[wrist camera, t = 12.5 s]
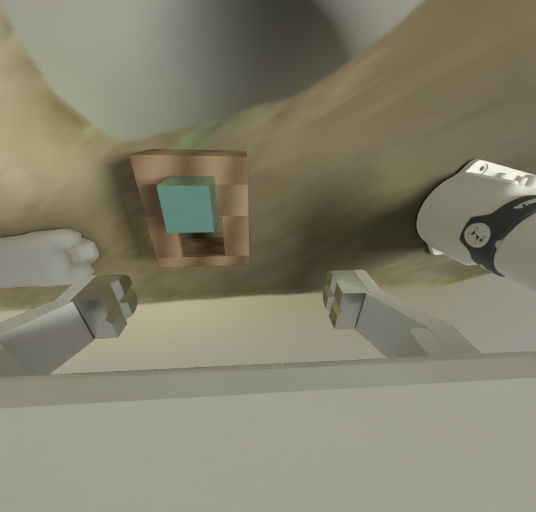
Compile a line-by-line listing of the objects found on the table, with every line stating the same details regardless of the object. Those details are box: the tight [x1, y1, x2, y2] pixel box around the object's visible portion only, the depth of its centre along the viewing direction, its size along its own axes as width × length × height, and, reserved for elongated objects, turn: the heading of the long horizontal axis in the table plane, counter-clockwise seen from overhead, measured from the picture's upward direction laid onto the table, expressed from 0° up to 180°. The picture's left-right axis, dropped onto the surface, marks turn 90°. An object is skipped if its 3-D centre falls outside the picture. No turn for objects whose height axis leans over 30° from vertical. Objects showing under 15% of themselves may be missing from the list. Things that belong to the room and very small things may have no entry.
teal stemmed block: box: [156, 176, 218, 233], centre depth 30 cm, size 5×5×12 cm
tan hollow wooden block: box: [129, 149, 249, 268], centre depth 34 cm, size 14×16×8 cm
